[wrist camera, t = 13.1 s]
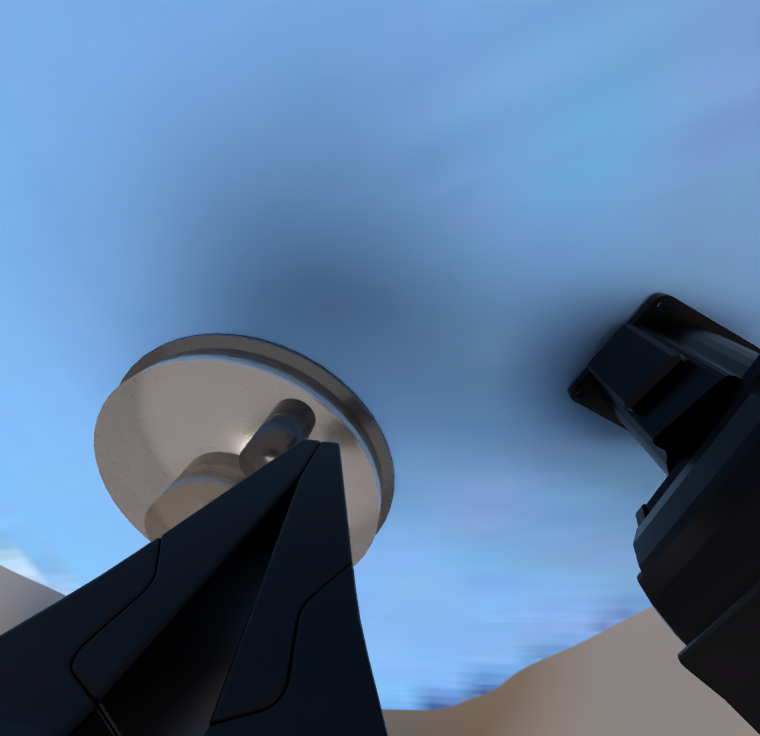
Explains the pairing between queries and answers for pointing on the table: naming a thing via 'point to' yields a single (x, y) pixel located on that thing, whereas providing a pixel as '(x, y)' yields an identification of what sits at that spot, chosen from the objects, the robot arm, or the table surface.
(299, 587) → the robot arm
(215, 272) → the table surface
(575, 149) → the table surface
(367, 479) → the turntable
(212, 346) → the turntable base
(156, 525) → the cover
